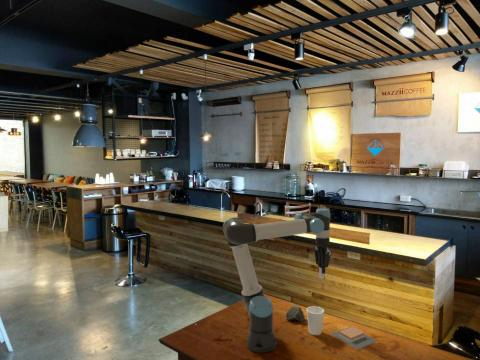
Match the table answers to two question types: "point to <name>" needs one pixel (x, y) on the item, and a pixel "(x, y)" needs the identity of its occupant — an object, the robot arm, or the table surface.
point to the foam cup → (315, 319)
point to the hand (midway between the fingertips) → (321, 278)
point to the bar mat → (358, 343)
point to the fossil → (295, 313)
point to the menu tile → (351, 334)
